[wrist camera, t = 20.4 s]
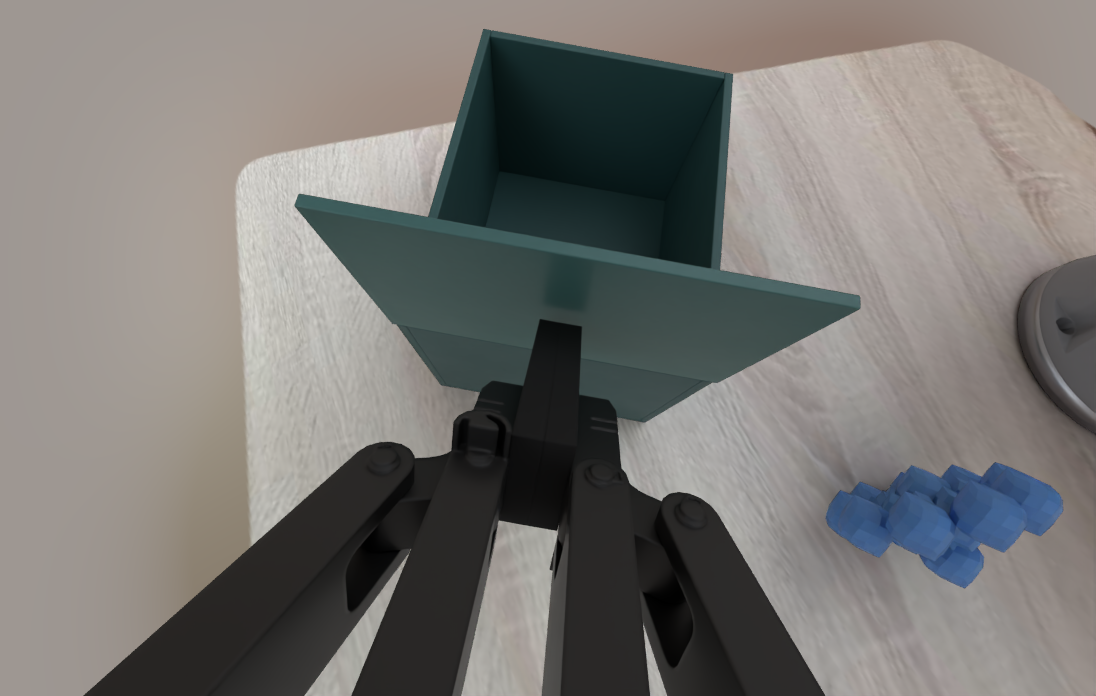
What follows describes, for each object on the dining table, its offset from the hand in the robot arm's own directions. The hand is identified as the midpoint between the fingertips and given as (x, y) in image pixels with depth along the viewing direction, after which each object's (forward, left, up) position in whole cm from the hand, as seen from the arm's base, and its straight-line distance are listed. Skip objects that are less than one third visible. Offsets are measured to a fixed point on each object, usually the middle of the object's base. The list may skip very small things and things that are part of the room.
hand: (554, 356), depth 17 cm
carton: (-8, -8, -17) cm, 20 cm away
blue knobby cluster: (-15, +18, -17) cm, 29 cm away
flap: (-1, -1, +1) cm, 2 cm away
